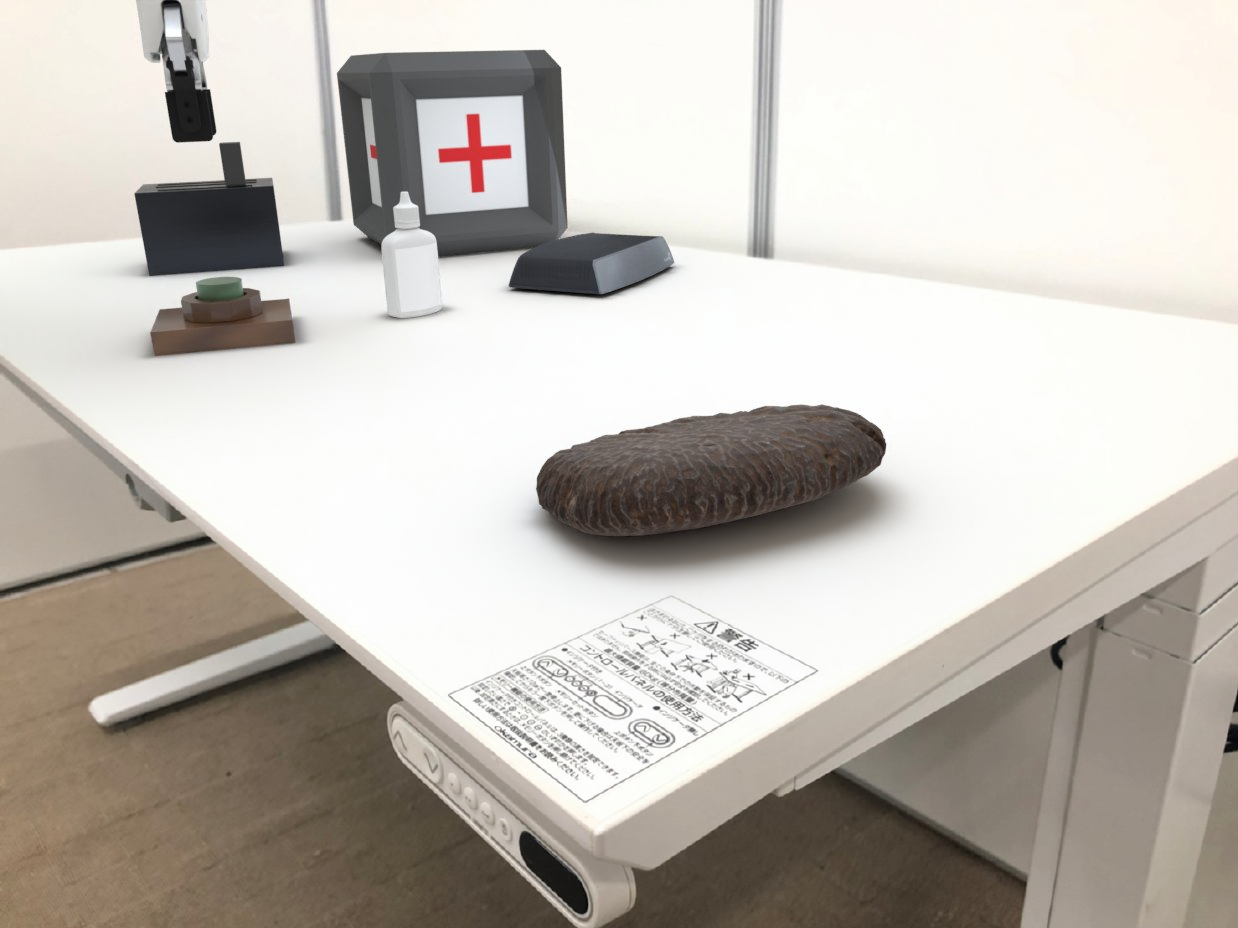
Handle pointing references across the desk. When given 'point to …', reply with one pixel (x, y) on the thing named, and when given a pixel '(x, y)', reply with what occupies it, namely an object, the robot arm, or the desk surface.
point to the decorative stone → (708, 469)
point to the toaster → (209, 226)
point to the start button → (219, 288)
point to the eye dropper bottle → (410, 265)
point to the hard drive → (591, 263)
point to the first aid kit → (457, 146)
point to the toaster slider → (232, 163)
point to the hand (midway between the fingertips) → (196, 137)
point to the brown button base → (222, 324)
